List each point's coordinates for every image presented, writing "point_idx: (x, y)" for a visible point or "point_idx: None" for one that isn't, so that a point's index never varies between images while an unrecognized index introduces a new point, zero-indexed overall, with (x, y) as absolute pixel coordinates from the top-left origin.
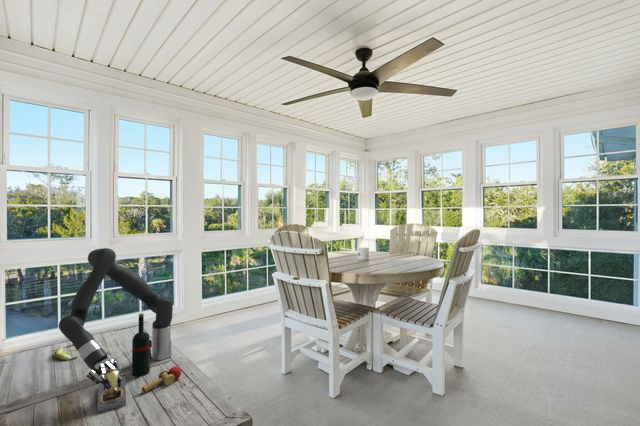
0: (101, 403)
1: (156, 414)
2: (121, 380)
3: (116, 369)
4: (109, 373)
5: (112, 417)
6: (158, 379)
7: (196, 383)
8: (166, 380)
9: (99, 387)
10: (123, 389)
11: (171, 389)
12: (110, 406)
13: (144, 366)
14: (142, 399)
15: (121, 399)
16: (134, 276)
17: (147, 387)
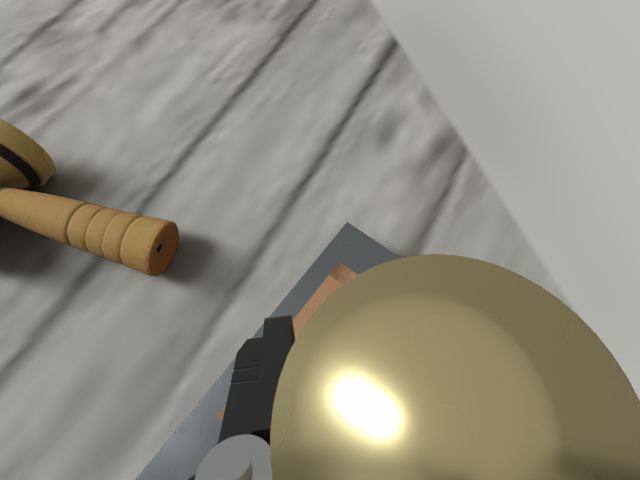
0: None
1: (340, 34)
2: (278, 319)
3: (290, 416)
4: (574, 372)
5: (473, 207)
6: (18, 201)
7: (13, 47)
8: (24, 147)
9: None
10: (226, 398)
11: (97, 122)
12: None
13: None
14: (248, 198)
15: (363, 254)
16: None
17: (142, 217)
